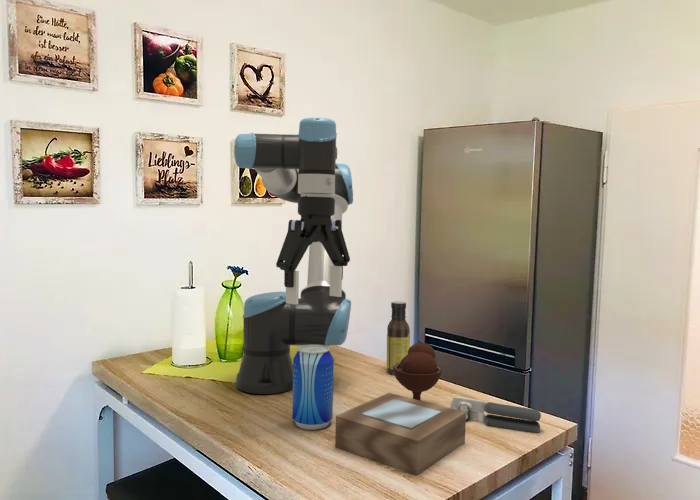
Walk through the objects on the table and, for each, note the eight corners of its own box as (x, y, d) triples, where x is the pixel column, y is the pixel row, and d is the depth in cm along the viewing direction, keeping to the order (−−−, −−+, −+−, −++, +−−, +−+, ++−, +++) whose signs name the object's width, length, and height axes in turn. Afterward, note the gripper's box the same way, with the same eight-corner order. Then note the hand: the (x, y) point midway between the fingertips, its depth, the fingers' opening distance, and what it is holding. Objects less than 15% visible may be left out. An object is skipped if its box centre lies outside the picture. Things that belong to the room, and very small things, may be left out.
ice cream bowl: (390, 400, 136) (392, 337, 135) (438, 401, 136) (440, 339, 135) (392, 416, 126) (394, 348, 125) (444, 418, 125) (446, 350, 124)
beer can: (327, 433, 116) (328, 354, 115) (287, 429, 118) (288, 351, 116) (336, 418, 124) (337, 344, 123) (298, 414, 126) (299, 342, 124)
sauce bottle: (414, 375, 157) (416, 302, 155) (396, 379, 153) (398, 304, 152) (398, 369, 162) (400, 299, 161) (381, 373, 158) (383, 301, 157)
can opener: (445, 420, 125) (446, 397, 124) (453, 411, 130) (454, 389, 130) (538, 437, 116) (539, 413, 116) (542, 427, 122) (543, 403, 122)
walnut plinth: (335, 446, 109) (335, 414, 109) (388, 420, 124) (388, 391, 123) (417, 475, 98) (418, 439, 98) (464, 442, 113) (466, 410, 112)
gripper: (287, 194, 105) (285, 309, 107) (367, 197, 125) (365, 295, 126) (258, 194, 110) (257, 304, 111) (340, 197, 129) (338, 291, 131)
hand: (314, 299), depth 119 cm, fingers open, 13 cm apart
